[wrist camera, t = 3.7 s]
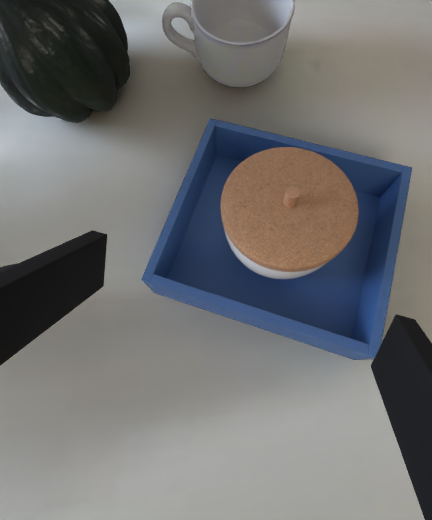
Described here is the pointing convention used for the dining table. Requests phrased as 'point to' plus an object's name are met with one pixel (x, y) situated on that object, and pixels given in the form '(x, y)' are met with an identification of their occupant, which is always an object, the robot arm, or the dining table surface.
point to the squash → (62, 56)
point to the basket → (279, 290)
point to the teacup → (234, 36)
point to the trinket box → (288, 212)
